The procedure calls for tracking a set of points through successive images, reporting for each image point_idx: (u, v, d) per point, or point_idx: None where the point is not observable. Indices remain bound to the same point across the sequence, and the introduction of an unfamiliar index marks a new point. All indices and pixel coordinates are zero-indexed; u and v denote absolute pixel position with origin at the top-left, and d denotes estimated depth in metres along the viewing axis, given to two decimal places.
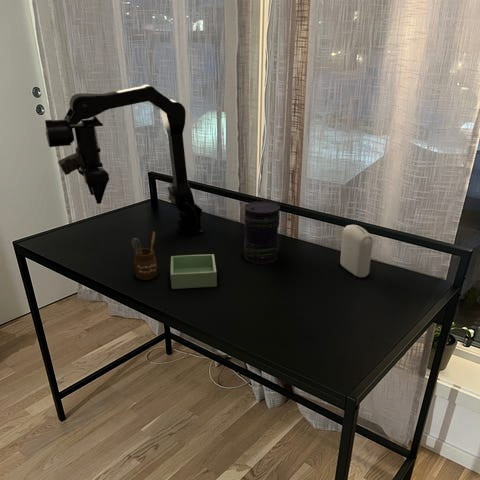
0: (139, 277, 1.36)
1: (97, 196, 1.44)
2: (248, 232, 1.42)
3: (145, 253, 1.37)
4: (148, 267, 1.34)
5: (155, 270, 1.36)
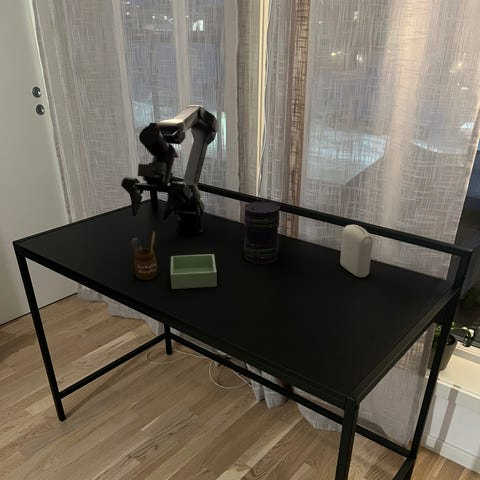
0: (139, 277, 1.36)
1: (168, 211, 1.38)
2: (248, 232, 1.42)
3: (145, 253, 1.37)
4: (148, 267, 1.34)
5: (155, 270, 1.36)
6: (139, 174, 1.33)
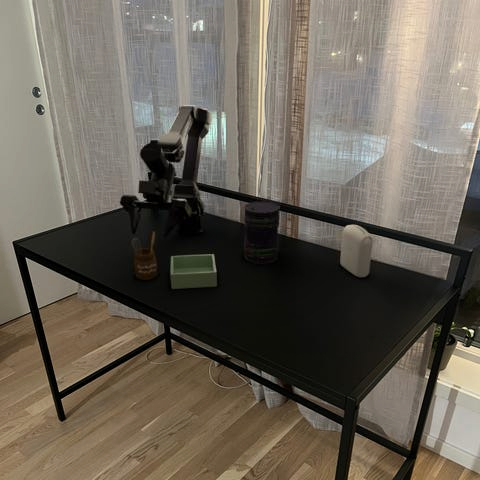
0: (139, 277, 1.36)
1: (169, 228, 1.35)
2: (248, 232, 1.42)
3: (145, 253, 1.37)
4: (148, 267, 1.34)
5: (155, 270, 1.36)
6: (140, 191, 1.31)
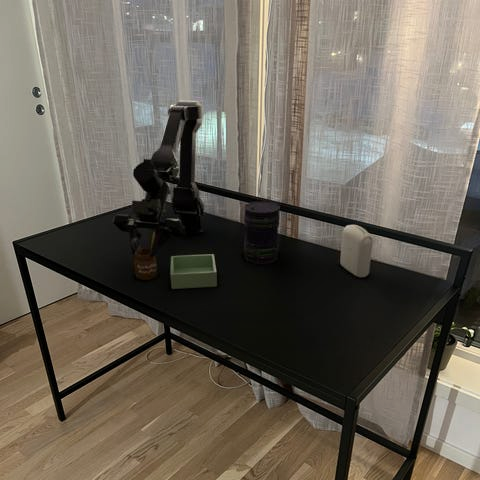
0: (139, 277, 1.36)
1: (156, 247, 1.34)
2: (248, 232, 1.42)
3: (145, 253, 1.37)
4: (148, 267, 1.34)
5: (155, 270, 1.36)
6: (133, 211, 1.29)
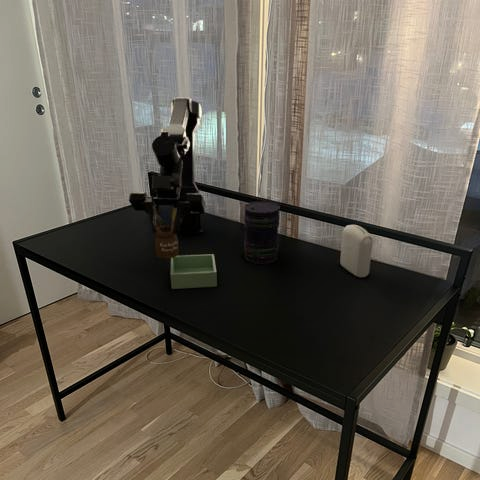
0: (161, 256, 1.31)
1: (178, 224, 1.30)
2: (248, 232, 1.42)
3: (164, 231, 1.33)
4: (171, 245, 1.30)
5: (177, 248, 1.32)
6: (155, 186, 1.24)
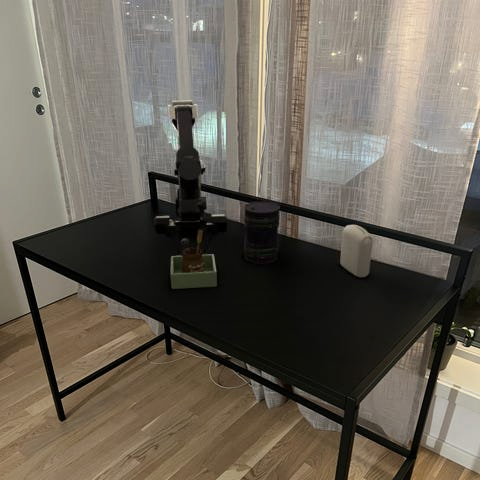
0: None
1: None
2: (248, 232, 1.42)
3: (189, 253, 1.36)
4: (200, 266, 1.33)
5: None
6: (183, 210, 1.27)
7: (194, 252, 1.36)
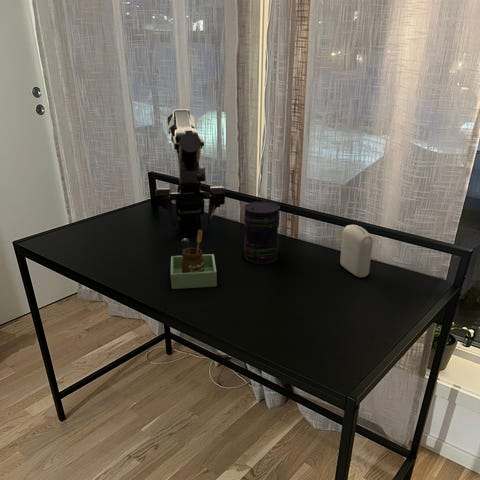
0: None
1: (211, 216, 1.39)
2: (248, 232, 1.42)
3: (189, 253, 1.36)
4: (200, 266, 1.33)
5: None
6: (183, 181, 1.33)
7: (194, 252, 1.36)
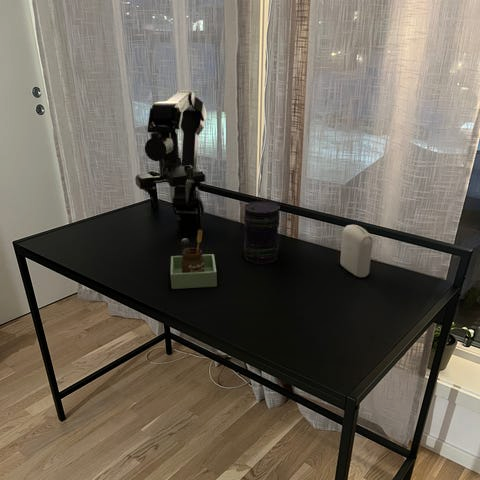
0: None
1: None
2: (248, 232, 1.42)
3: (189, 253, 1.36)
4: (200, 266, 1.33)
5: None
6: (173, 185, 1.36)
7: (194, 252, 1.36)
